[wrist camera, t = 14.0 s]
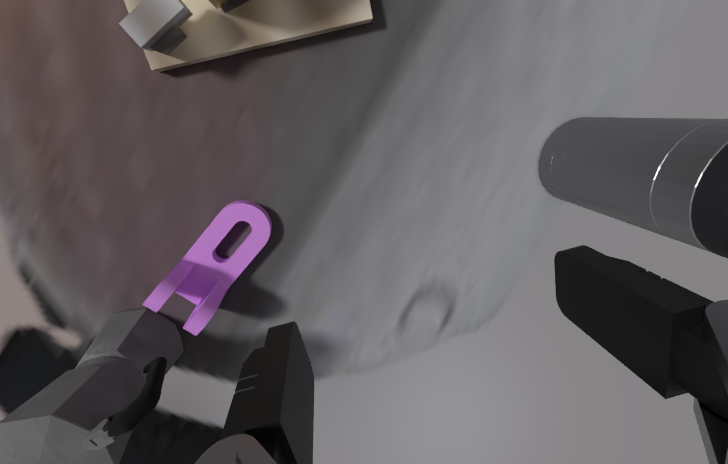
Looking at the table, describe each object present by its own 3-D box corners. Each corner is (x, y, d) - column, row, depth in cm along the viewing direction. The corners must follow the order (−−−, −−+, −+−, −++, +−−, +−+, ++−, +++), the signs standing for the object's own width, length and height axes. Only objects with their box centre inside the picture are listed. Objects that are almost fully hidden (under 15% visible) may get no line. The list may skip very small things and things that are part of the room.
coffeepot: (122, 395, 42) (-9, 582, 25) (64, 339, 39) (-131, 510, 22) (232, 336, 42) (172, 488, 25) (181, 274, 38) (72, 400, 21)
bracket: (211, 305, 40) (190, 343, 34) (167, 278, 39) (136, 311, 32) (282, 222, 38) (274, 244, 32) (239, 189, 36) (221, 205, 30)
